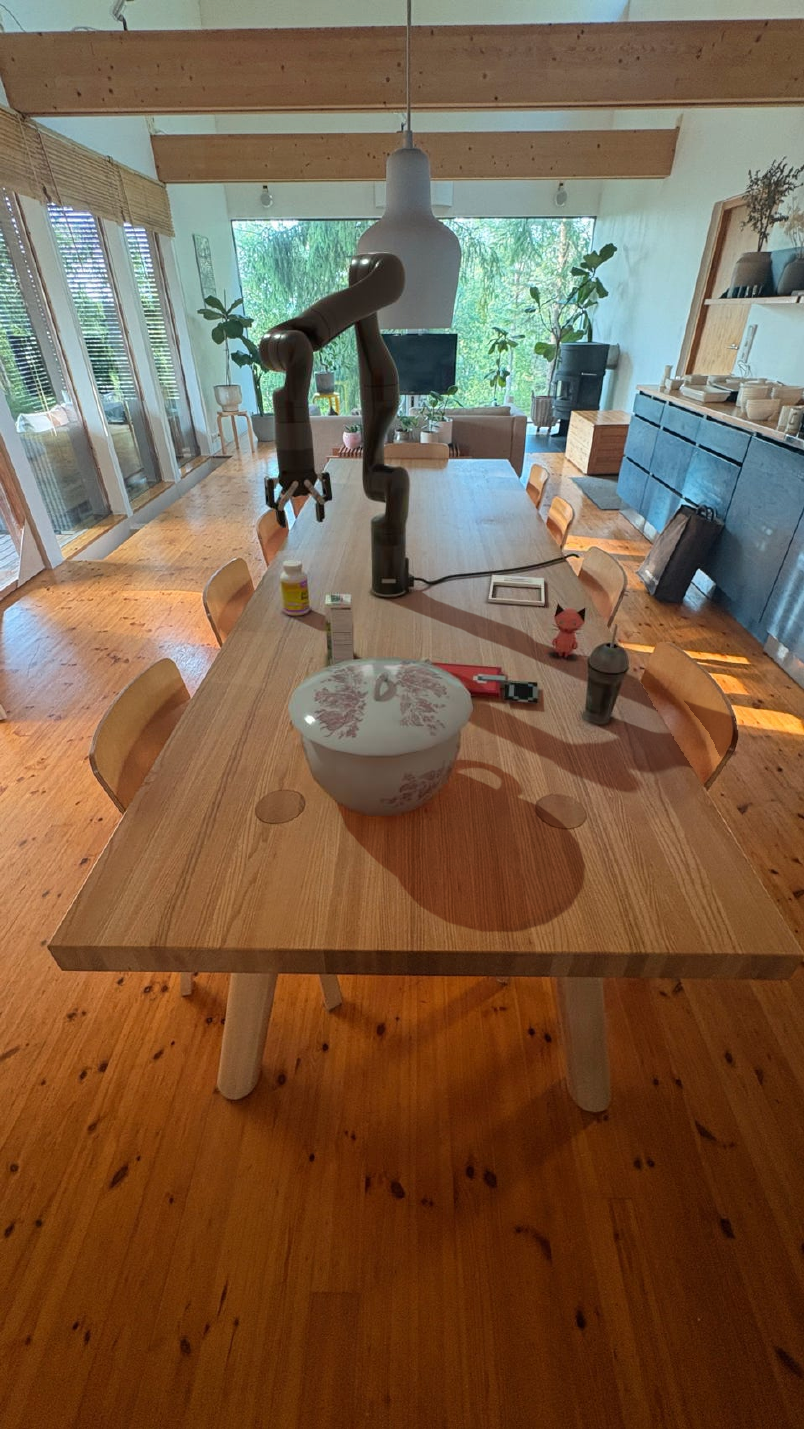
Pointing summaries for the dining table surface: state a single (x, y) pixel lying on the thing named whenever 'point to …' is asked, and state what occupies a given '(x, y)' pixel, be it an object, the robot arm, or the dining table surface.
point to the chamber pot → (381, 731)
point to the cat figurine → (567, 630)
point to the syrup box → (339, 628)
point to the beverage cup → (604, 680)
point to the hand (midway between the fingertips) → (301, 524)
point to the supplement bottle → (294, 588)
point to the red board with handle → (491, 682)
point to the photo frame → (521, 583)
